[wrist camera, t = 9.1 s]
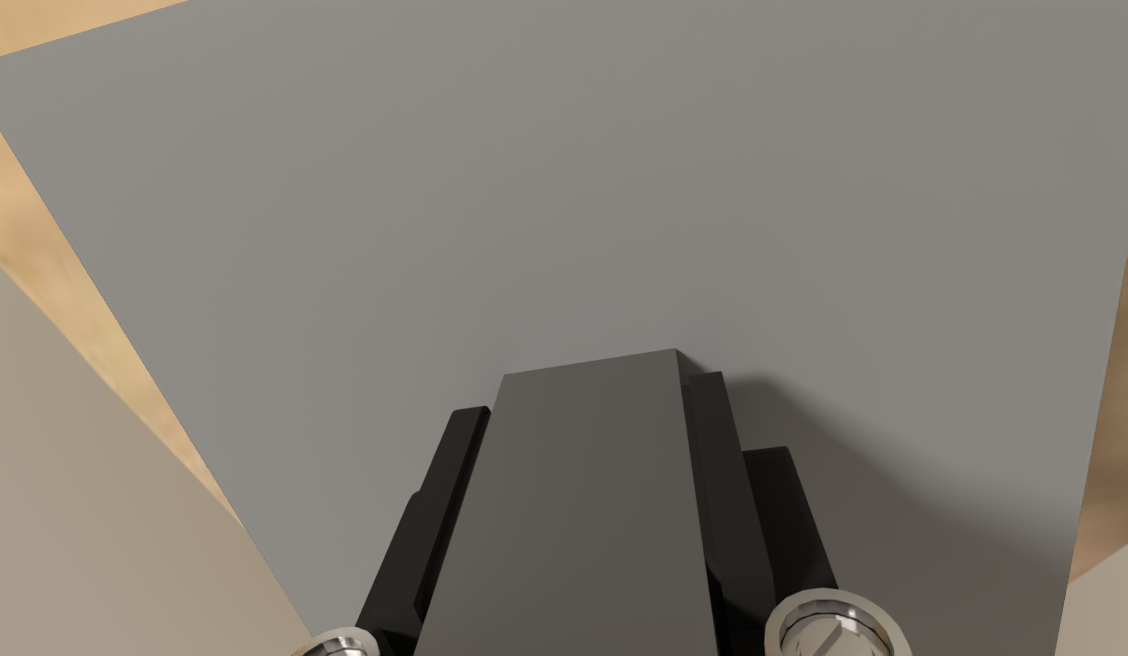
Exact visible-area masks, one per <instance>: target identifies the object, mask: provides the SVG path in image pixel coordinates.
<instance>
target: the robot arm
mask: <svg viewBox="0 0 1128 656" xmlns="http://www.w3.org/2000/svg"><path fill="white" fill-rule="evenodd" d="M688 380H689V385H683V386H681V393H682V400H683V408H684V415H685V422H686V429H687V437H688V444H689V451H690V458H691V465H692V473H693V480H694V487H695V494H696V502H697V509H698V516H699V523H700V531H701V538H702V545H703V552H704V559H705V566H706V573H707V579H708V585H709V591H710V597H711V602H712V608H713V613H714V619H715V624H716V630H717V635H718V641H719V646H720V652H721V656H912V653H911V650H910V647H909V644H908V642H907V640H906V638H905V636H904V634H903V632H902V630H901V629H900V627H899V625H898V624H897V623H896V622H895V621H894V620H893V619H892V618H891V617H890V616H889V615H888V614H887V613H886V612H885V610H883V609H882V608H880V607H879V606H877V605H876V604H874V603H872V602H871V601H869V600H868V599H866V598H864V597H862V596H859V595H856V594H853V593H850V592H848V591H845V590H839V588H838V585H837V582H836V580H835V577H834V574H833V571H832V568H831V566H830V563H829V560H828V557H827V554H826V552H825V549H824V546H823V543H822V540H821V537H820V535H819V532H818V529H817V526H816V523H815V521H814V518H813V515H812V512H811V509H810V507H809V504H808V501H807V498H806V495H805V493H804V490H803V487H802V484H801V481H800V479H799V476H798V473H797V470H796V467H795V465H794V462H793V459H792V456H791V454H790V451H789V449H788V447H787V446H780V447H772V448H764V449H755V450H747V451H742V450H741V446H740V442H739V438H738V434H737V430H736V426H735V422H734V418H733V414H732V410H731V406H730V402H729V398H728V394H727V390H726V386H725V382H724V378H723V374H722V371H717V372H710V373H704V374H697V375H690V376H688ZM490 416H491V411H490V409H489V408H488V407H487V406H478V407H471V408H464V409H458V410H454V411H453V412H452V414H451V416H450V419H449V421H448V423H447V426H446V428H445V431H444V433H443V435H442V438H441V440H440V443H439V445H438V447H437V450H436V452H435V455H434V457H433V459H432V462H431V464H430V467H429V469H428V471H427V474H426V476H425V479H424V481H423V483H422V486H421V488H420V491H417V492H415V493H414V494H412V496H411V498H410V499H409V501H408V503H407V505H406V508H405V510H404V512H403V515H402V517H401V519H400V522H399V524H398V526H397V529H396V531H395V533H394V536H393V538H392V540H391V543H390V545H389V547H388V550H387V552H386V554H385V557H384V559H383V561H382V564H381V566H380V568H379V571H378V573H377V575H376V578H375V580H374V582H373V585H372V587H371V589H370V592H369V594H368V596H367V599H366V601H365V603H364V606H363V608H362V610H361V613H360V615H359V617H358V619H357V622H356V624H355V626H354V627H340V628H337V629H333V630H330V631H327V632H324V633H322V634H320V635H318V636H317V637H315V638H313V639H311V640H309V641H308V642H306V643H305V644H304V645H303V646H302V647H300V648H299V649H298V650H297V651H295V652H294V653H293V654H292V655H291V656H413V655H414V652H415V649H416V646H417V643H418V640H419V637H420V634H421V631H422V627H423V624H424V621H425V618H426V615H427V612H428V609H429V606H430V603H431V599H432V596H433V593H434V590H435V587H436V584H437V581H438V578H439V575H440V572H441V568H442V565H443V562H444V559H445V556H446V553H447V550H448V547H449V544H450V540H451V537H452V534H453V531H454V528H455V525H456V522H457V519H458V516H459V513H460V509H461V506H462V503H463V500H464V497H465V494H466V491H467V488H468V485H469V481H470V478H471V475H472V472H473V469H474V466H475V463H476V460H477V457H478V454H479V450H480V447H481V444H482V441H483V438H484V435H485V432H486V429H487V426H488V422H489V419H490Z"/></svg>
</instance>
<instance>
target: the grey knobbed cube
mask: <svg viewBox="0 0 1128 656" xmlns="http://www.w3.org/2000/svg"><path fill="white" fill-rule="evenodd" d="M0 132H1V134H2V135H3V137H4V139H5V140H6V142H7V143H8V145H9V147H10V148H11V150H12V152H13V153H14V155H15V156H16V158H17V160H18V161H19V163H20V164H21V166H22V168H23V169H24V171H25V173H26V174H27V176H28V177H29V179H30V181H31V182H32V184H33V186H34V187H35V189H36V190H37V192H38V194H39V195H40V197H41V199H42V200H43V202H44V203H45V205H46V207H47V208H48V210H49V211H50V213H51V215H52V216H53V218H54V220H55V221H56V223H57V224H58V226H59V228H60V229H61V231H62V233H63V234H64V236H65V237H66V239H67V241H68V242H69V244H70V246H71V247H72V249H73V250H74V252H75V254H76V255H77V257H78V258H79V260H80V262H81V263H82V265H83V267H84V268H85V270H86V271H87V273H88V275H89V276H90V278H91V280H92V281H93V283H94V284H95V286H96V288H97V289H98V291H99V293H100V294H101V296H102V297H103V299H104V301H105V302H106V304H107V305H108V307H109V309H110V310H111V312H112V314H113V315H114V317H115V318H116V320H117V322H118V323H119V325H120V327H121V328H122V330H123V331H124V333H125V335H126V336H127V338H128V340H129V341H130V343H131V344H132V346H133V348H134V349H135V351H136V352H137V354H138V356H139V357H140V359H141V361H142V362H143V364H144V365H145V367H146V369H147V370H148V372H149V374H150V375H151V377H152V378H153V380H154V382H155V383H156V385H157V386H158V388H159V390H160V391H161V393H162V395H163V396H164V398H165V399H166V401H167V403H168V404H169V406H170V408H171V409H172V411H173V412H174V414H175V416H176V417H177V419H178V421H179V422H180V424H181V425H182V427H183V429H184V430H185V432H186V433H187V435H188V437H189V438H190V440H191V442H192V443H193V445H194V446H195V448H196V450H197V451H198V453H199V455H200V456H201V458H202V459H203V461H204V463H205V464H206V466H207V468H208V469H209V471H210V472H211V474H212V476H213V477H214V479H215V480H216V482H217V484H218V485H219V487H220V489H221V490H222V492H223V493H224V495H225V497H226V498H227V500H228V502H229V503H230V505H231V506H232V508H233V510H234V511H235V513H236V515H237V516H238V518H239V519H240V521H241V523H242V524H243V526H244V527H245V529H246V531H247V532H248V534H249V536H250V537H251V539H252V540H253V542H254V544H255V545H256V547H257V549H258V550H259V552H260V553H261V555H262V557H263V558H264V560H265V562H266V563H267V565H268V566H269V568H270V569H271V571H272V573H273V574H274V576H275V578H276V579H277V581H278V583H279V584H280V586H281V587H282V589H283V590H284V592H285V594H286V595H287V597H288V599H289V600H290V602H291V604H292V605H293V607H294V608H295V610H296V612H297V613H298V615H299V617H300V618H301V620H302V621H303V623H304V624H305V626H306V628H307V630H308V631H309V633H310V634H311V636H312V638H315V637H317V636H318V635H320V634H322V633H324V632H327V631H330V630H333V629H337V628H340V627H354V626H355V624H356V622H357V619H358V617H359V615H360V613H361V610H362V608H363V606H364V603H365V601H366V599H367V596H368V594H369V592H370V589H371V587H372V585H373V582H374V580H375V578H376V575H377V573H378V571H379V568H380V566H381V564H382V561H383V559H384V557H385V554H386V552H387V550H388V547H389V545H390V543H391V540H392V538H393V536H394V533H395V531H396V529H397V526H398V524H399V522H400V519H401V517H402V515H403V512H404V510H405V508H406V505H407V503H408V501H409V499H410V498H411V496H412V494H414V493H415V492H417V491H420V488H421V486H422V483H423V481H424V479H425V476H426V474H427V471H428V469H429V467H430V464H431V462H432V459H433V457H434V455H435V452H436V450H437V447H438V445H439V443H440V440H441V438H442V435H443V433H444V431H445V428H446V426H447V423H448V421H449V419H450V416H451V414H452V412H453V411H454V410H458V409H464V408H471V407H478V406H487V407H488V408H489V409H490V411H491V416H490V419H489V422H488V426H487V429H486V432H485V435H484V438H483V441H482V444H481V447H480V450H479V454H478V457H477V460H476V463H475V466H474V469H473V472H472V475H471V478H470V481H469V485H468V488H467V491H466V494H465V497H464V500H463V503H462V506H461V509H460V513H459V516H458V519H457V522H456V525H455V528H454V531H453V534H452V537H451V540H450V544H449V547H448V550H447V553H446V556H445V559H444V562H443V565H442V568H441V572H440V575H439V578H438V581H437V584H436V587H435V590H434V593H433V596H432V599H431V603H430V606H429V609H428V612H427V615H426V618H425V621H424V624H423V627H422V631H421V634H420V637H419V640H418V643H417V646H416V649H415V652H414V655H413V656H721V652H720V646H719V641H718V635H717V630H716V624H715V619H714V613H713V608H712V602H711V597H710V591H709V585H708V579H707V573H706V566H705V559H704V552H703V545H702V538H701V531H700V523H699V516H698V509H697V502H696V494H695V487H694V480H693V473H692V465H691V458H690V451H689V444H688V437H687V429H686V422H685V415H684V408H683V400H682V393H681V386H683V385H689V380H688V376H690V375H697V374H704V373H710V372H717V371H722V374H723V378H724V382H725V386H726V390H727V394H728V398H729V402H730V406H731V410H732V414H733V418H734V422H735V426H736V430H737V434H738V438H739V442H740V446H741V450H742V451H747V450H755V449H764V448H772V447H780V446H787V447H788V449H789V451H790V454H791V456H792V459H793V462H794V465H795V467H796V470H797V473H798V476H799V479H800V481H801V484H802V487H803V490H804V493H805V495H806V498H807V501H808V504H809V507H810V509H811V512H812V515H813V518H814V521H815V523H816V526H817V529H818V532H819V535H820V537H821V540H822V543H823V546H824V549H825V552H826V554H827V557H828V560H829V563H830V566H831V568H832V571H833V574H834V577H835V580H836V582H837V585H838V588H839V590H845V591H848V592H850V593H853V594H856V595H859V596H862V597H864V598H866V599H868V600H869V601H871V602H872V603H874V604H876V605H877V606H879V607H880V608H882V609H883V610H885V612H886V613H887V614H888V615H889V616H890V617H891V618H892V619H893V620H894V621H895V622H896V623H897V624H898V625H899V627H900V629H901V630H902V632H903V634H904V636H905V638H906V640H907V642H908V644H909V647H910V650H911V653H912V656H1054V655H1055V649H1056V644H1057V638H1058V632H1059V626H1060V622H1061V617H1062V611H1063V605H1064V600H1065V595H1066V589H1067V584H1068V578H1069V573H1070V567H1071V562H1072V556H1073V551H1074V545H1075V540H1076V534H1077V529H1078V523H1079V518H1080V512H1081V507H1082V501H1083V496H1084V490H1085V485H1086V479H1087V474H1088V468H1089V463H1090V457H1091V452H1092V446H1093V441H1094V435H1095V430H1096V424H1097V419H1098V413H1099V408H1100V403H1101V397H1102V392H1103V386H1104V381H1105V375H1106V370H1107V364H1108V359H1109V353H1110V348H1111V342H1112V337H1113V331H1114V326H1115V320H1116V315H1117V309H1118V304H1119V298H1120V293H1121V287H1122V282H1123V276H1124V271H1125V265H1126V260H1127V254H1128V0H189V1H185V2H182V3H178V4H175V5H172V6H168V7H165V8H162V9H158V10H155V11H152V12H148V13H145V14H141V15H138V16H135V17H131V18H128V19H125V20H121V21H118V22H114V23H111V24H108V25H104V26H101V27H98V28H94V29H91V30H88V31H84V32H81V33H77V34H74V35H71V36H67V37H64V38H61V39H57V40H54V41H51V42H47V43H44V44H40V45H37V46H34V47H30V48H27V49H24V50H20V51H17V52H13V53H10V54H7V55H3V56H0Z"/></svg>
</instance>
